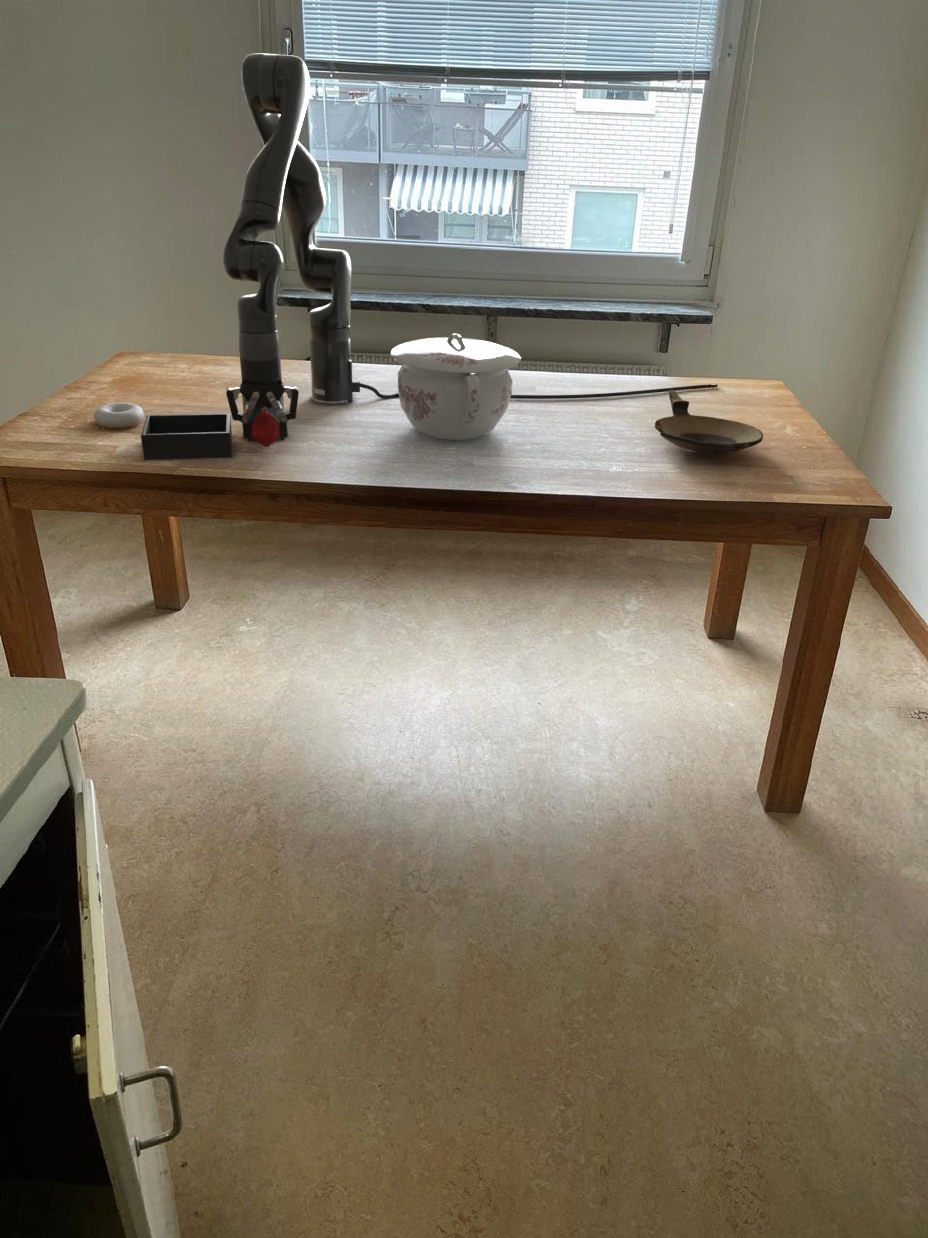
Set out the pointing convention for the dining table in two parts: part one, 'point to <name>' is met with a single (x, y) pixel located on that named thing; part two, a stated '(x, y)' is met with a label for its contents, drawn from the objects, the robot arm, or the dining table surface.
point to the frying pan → (705, 430)
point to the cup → (257, 410)
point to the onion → (265, 428)
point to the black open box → (187, 436)
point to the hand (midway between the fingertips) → (266, 439)
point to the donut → (119, 415)
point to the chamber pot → (454, 385)
